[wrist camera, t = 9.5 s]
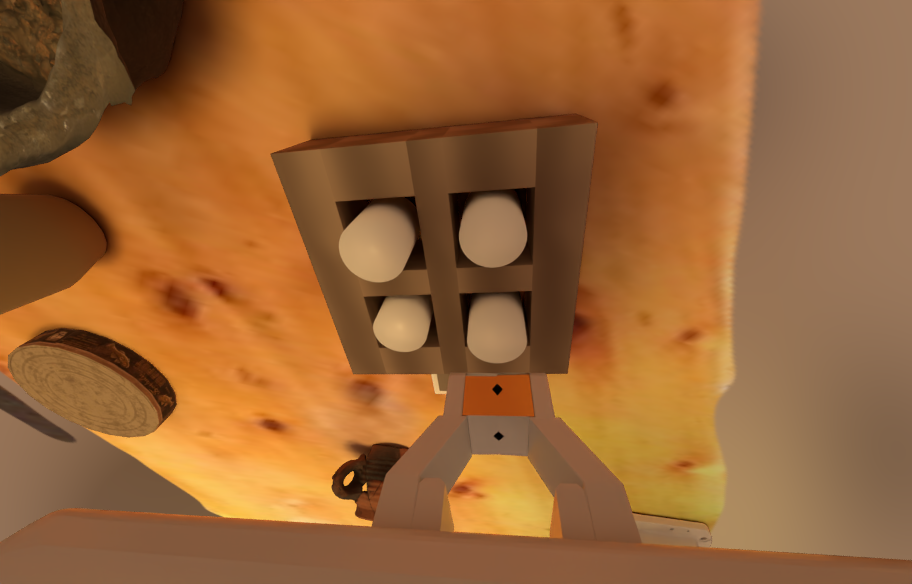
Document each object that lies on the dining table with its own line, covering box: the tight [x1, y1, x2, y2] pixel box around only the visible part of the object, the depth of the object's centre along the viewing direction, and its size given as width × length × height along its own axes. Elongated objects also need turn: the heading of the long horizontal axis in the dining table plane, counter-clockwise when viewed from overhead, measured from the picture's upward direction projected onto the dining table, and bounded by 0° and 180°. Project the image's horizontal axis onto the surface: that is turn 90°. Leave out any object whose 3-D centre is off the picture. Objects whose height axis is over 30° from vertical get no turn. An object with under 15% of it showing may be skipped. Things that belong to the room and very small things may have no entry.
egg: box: [373, 294, 434, 352], centre depth 26 cm, size 4×4×5 cm
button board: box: [271, 114, 598, 374], centre depth 25 cm, size 18×18×5 cm
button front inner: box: [467, 291, 527, 363], centre depth 24 cm, size 4×4×5 cm
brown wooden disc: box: [8, 328, 177, 437], centre depth 39 cm, size 16×16×3 cm
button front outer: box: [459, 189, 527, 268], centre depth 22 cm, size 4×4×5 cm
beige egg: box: [339, 197, 420, 282], centre depth 21 cm, size 4×4×5 cm
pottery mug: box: [332, 445, 408, 521], centre depth 43 cm, size 12×10×8 cm
